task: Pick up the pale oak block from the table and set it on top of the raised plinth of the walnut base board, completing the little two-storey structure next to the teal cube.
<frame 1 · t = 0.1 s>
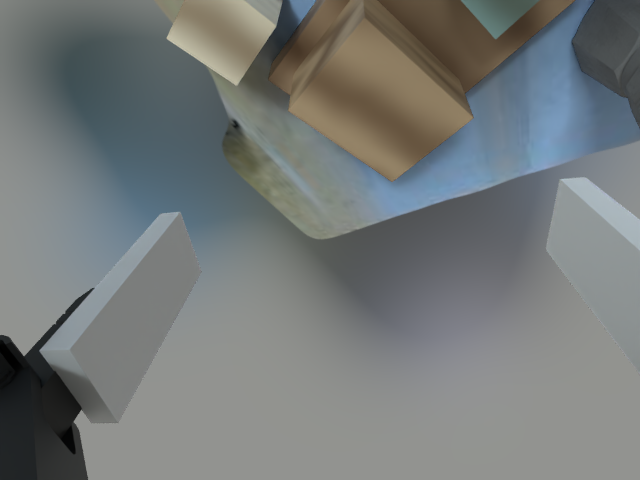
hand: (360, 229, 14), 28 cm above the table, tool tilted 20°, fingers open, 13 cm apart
base: (410, 21, 34), on the table
coffeepot: (636, 29, 34), on the table
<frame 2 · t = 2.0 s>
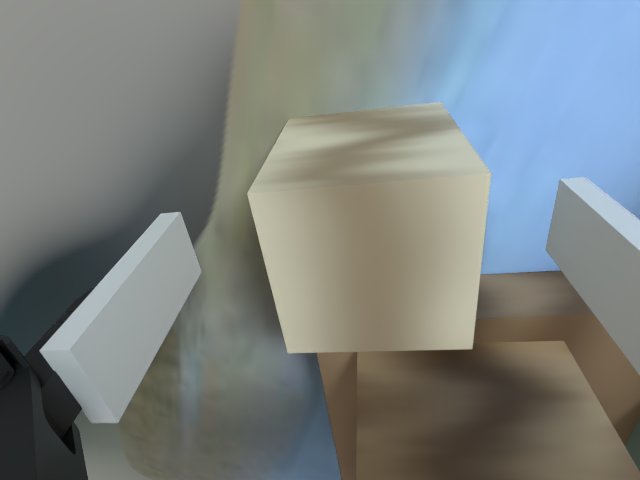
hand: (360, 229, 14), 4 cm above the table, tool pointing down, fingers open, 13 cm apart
oak block: (367, 179, 17), on the table
base: (521, 374, 23), on the table
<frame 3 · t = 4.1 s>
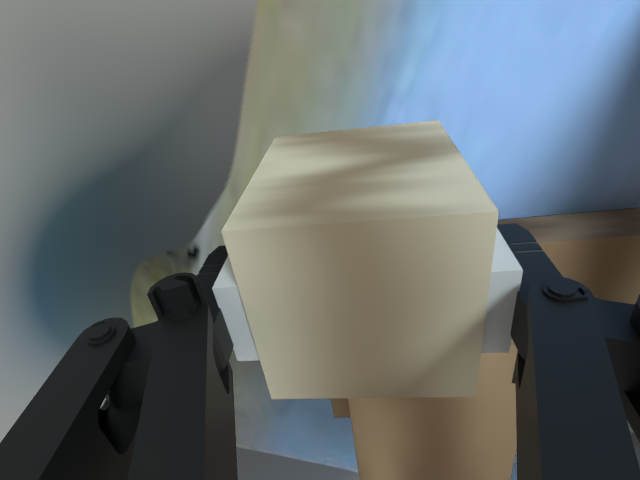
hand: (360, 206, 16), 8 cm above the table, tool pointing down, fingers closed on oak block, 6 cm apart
oak block: (360, 201, 16), point 8 cm above the table, touching gripper
base: (474, 311, 28), on the table
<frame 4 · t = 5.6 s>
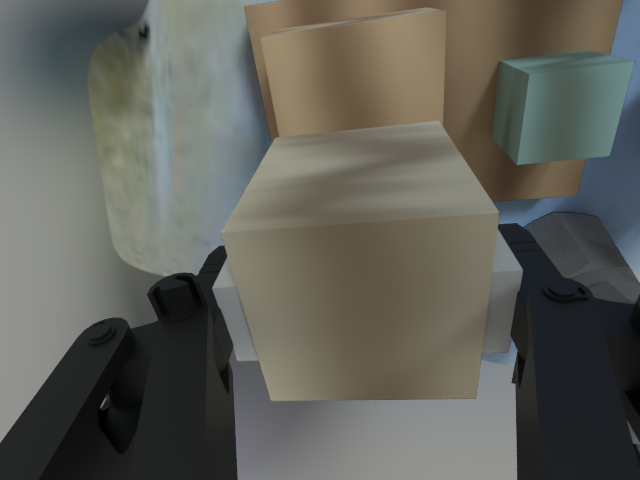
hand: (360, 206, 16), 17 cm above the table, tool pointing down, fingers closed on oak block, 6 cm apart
oak block: (360, 202, 16), point 16 cm above the table, touching gripper
base: (419, 99, 29), on the table
coffeepot: (552, 262, 36), on the table
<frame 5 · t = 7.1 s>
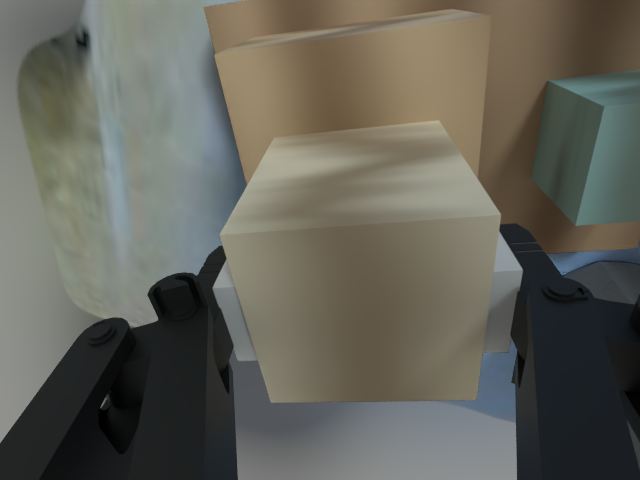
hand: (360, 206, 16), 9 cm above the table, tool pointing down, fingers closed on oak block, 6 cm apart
oak block: (360, 202, 16), point 9 cm above the table, touching base, gripper
base: (436, 125, 23), on the table
coffeepot: (592, 316, 30), on the table
when the fingers open (9 cm above the table, at t = 7.2 s): oak block stays where it is, resting on base.
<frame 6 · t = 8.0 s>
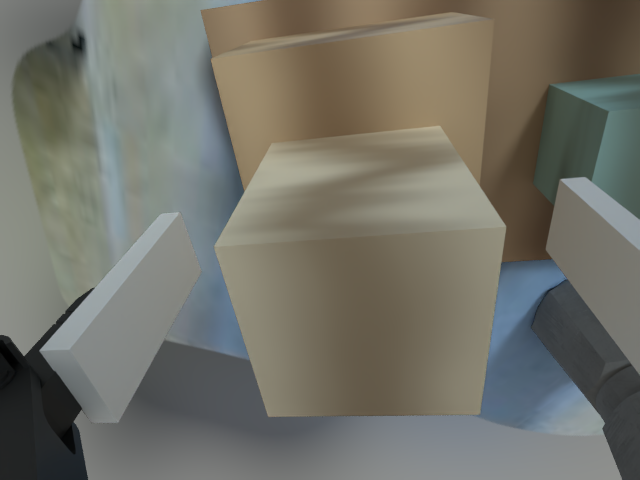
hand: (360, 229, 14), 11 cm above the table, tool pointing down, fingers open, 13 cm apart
oak block: (359, 209, 15), point 9 cm above the table, touching base
base: (436, 129, 22), on the table
coffeepot: (594, 322, 29), on the table
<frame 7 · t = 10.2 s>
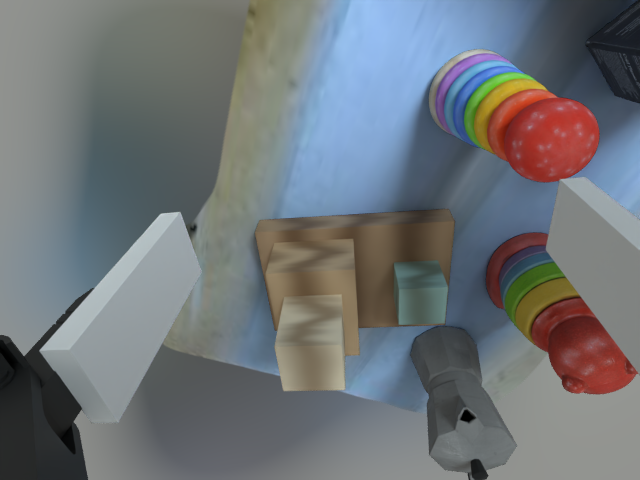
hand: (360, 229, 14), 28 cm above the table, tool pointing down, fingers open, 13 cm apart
oak block: (315, 317, 42), point 9 cm above the table, touching base
stacking bear: (525, 264, 48), on the table
stacking toy: (467, 92, 38), on the table
base: (355, 267, 49), on the table
coffeepot: (442, 352, 57), on the table
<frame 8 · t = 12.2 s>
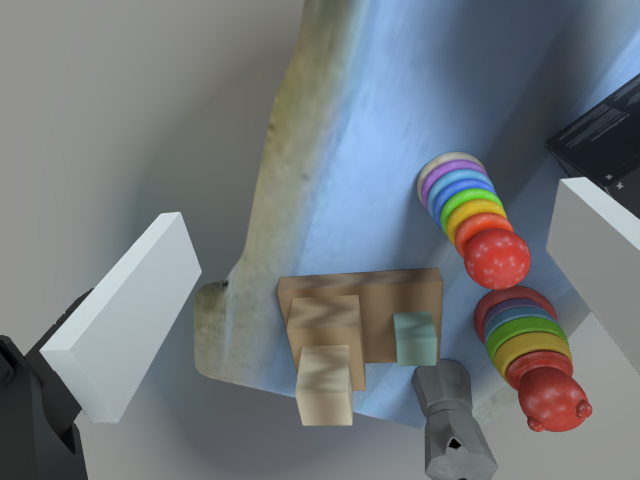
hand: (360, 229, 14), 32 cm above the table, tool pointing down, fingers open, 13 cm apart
small box: (616, 123, 42), on the table
oak block: (327, 361, 51), point 9 cm above the table, touching base
stacking bear: (508, 310, 56), on the table
stacking toy: (449, 181, 46), on the table
base: (361, 312, 58), on the table
coffeepot: (440, 380, 65), on the table
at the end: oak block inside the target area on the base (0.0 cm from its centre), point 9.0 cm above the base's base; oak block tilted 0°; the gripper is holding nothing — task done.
